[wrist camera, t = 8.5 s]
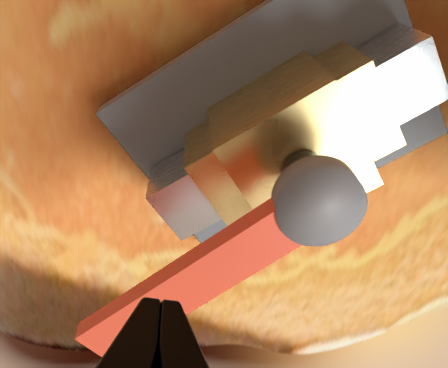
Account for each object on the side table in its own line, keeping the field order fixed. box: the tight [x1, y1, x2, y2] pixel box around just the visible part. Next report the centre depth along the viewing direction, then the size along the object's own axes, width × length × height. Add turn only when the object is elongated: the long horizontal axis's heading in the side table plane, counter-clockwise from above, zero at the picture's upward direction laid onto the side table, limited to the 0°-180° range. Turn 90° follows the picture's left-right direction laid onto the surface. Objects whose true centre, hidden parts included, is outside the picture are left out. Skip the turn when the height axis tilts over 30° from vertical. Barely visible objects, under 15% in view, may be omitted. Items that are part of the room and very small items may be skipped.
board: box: [96, 0, 448, 243], centre depth 20 cm, size 10×14×1 cm
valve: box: [146, 23, 448, 241], centre depth 18 cm, size 5×13×6 cm, turn 121°
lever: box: [75, 155, 368, 357], centre depth 15 cm, size 12×3×1 cm, turn 127°
